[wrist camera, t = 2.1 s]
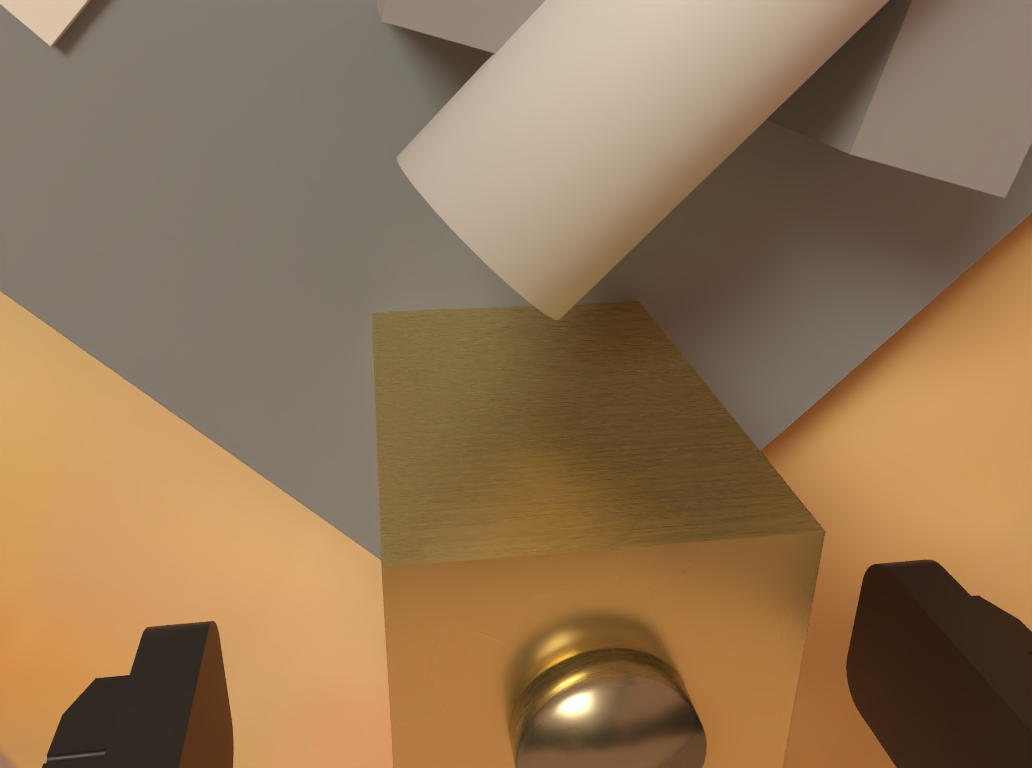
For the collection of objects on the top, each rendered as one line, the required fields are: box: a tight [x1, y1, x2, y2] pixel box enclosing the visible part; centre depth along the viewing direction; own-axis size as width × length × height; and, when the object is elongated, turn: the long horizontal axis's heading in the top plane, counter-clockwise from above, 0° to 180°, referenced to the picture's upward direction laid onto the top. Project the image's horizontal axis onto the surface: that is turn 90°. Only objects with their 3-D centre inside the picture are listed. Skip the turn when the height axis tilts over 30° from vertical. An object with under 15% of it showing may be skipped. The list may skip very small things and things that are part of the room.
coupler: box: [372, 301, 825, 768], centre depth 13 cm, size 4×4×8 cm
